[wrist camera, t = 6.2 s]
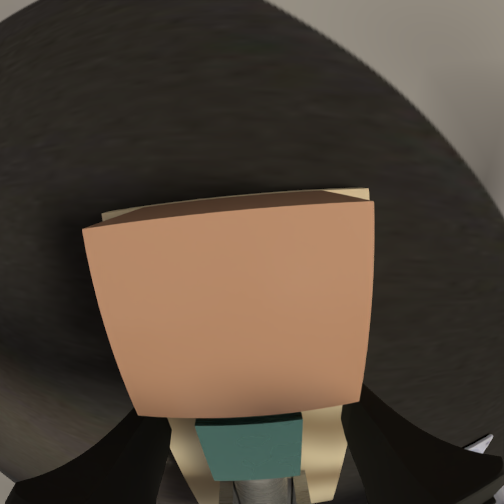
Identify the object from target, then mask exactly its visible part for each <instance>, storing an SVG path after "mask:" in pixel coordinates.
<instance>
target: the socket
mask: <svg viewBox="0 0 504 504" xmlns="http://www.w3.org/2000/svg"><path fill="white" fill-rule="evenodd" d="M82 232H83V238H84V243H85V248H86V254H87V259H88V263H89V268H90V272H91V277H92V281H93V285H94V289H95V293H96V297H97V301H98V305H99V308H100V312H101V315H102V319H103V322H104V326H105V329H106V332H107V335H108V339H109V342H110V345H111V348H112V351H113V354H114V356H115V359H116V362H117V365H118V368H119V370H120V373H121V376H122V378H123V381H124V383H125V386H126V388H127V391H128V393H129V396H130V398H131V401H132V403H133V405H134V408H135V410H136V412H137V414H138V416H151V417H169V418H234V417H252V416H265V415H276V414H285V413H294V412H302V411H309V410H316V409H322V408H328V407H334V406H339V405H344V404H349V403H354V402H359V399H360V394H361V388H362V382H363V375H364V368H365V361H366V354H367V345H368V337H369V327H370V316H371V304H372V289H373V269H374V201H371V200H366V199H362V198H357V197H353V196H348V195H343V194H338V193H333V192H328V191H323V190H320V191H302V192H287V193H273V194H260V195H248V196H237V197H227V198H217V199H207V200H198V201H189V202H181V203H173V204H165V205H157V206H150V207H143V208H140V209H137V210H134V211H131V212H128V213H125V214H122V215H120V216H117V217H114V218H111V219H108V220H105V221H103V222H100V223H97V224H94V225H92V226H89V227H86V228H84V229H82Z"/></svg>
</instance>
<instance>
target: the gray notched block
mask: <svg viewBox="0 0 504 504" xmlns="http://www.w3.org/2000/svg"><path fill="white" fill-rule="evenodd" d="M219 504H241V502H240V499H239V496H238V493H237V490H236V486H235V483H234V481H220V491H219ZM287 504H311V500H310V494H309V489H308V483H307V478H306V473H305V470H301V472H300V476H293V477H292V496H291V477H287Z"/></svg>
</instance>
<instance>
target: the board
mask: <svg viewBox="0 0 504 504" xmlns="http://www.w3.org/2000/svg"><path fill="white" fill-rule="evenodd" d="M320 190H323V191H328V192H333V193H338V194H343V195H348V196H353V197H357V198H362V199H366V200H369V189H368V188H335V189H314V190H297V191H282V192H269V193H256V194H245V195H234V196H223V197H214V198H204V199H195V200H187V201H178V202H170V203H163V204H155V205H148V206H141V207H134V208H127V209H120V210H114V211H109V212H105V213H102V220H103V221H105V220H108V219H111V218H114V217H117V216H120V215H122V214H125V213H128V212H131V211H134V210H137V209H140V208H143V207H150V206H157V205H165V204H173V203H181V202H189V201H198V200H207V199H217V198H227V197H237V196H248V195H260V194H273V193H287V192H302V191H320ZM341 412H342V405H339V406H334V407H328V408H322V409H316V410H309V411H302V412H301V413H302V417H303V431H302V454H301V470H305V473H306V478H307V483H308V489H309V494H310V500H311V504H312V503H318V502H324V501H329V500H333V497H334V493H335V490H336V486H337V483H338V479H339V475H340V472H341V468H342V464H343V460H344V456H345V451H346V447H347V441H346V438H345V434H344V430H343V426H342V422H341ZM167 419H168V421H169V424H170V426H171V429H172V433H171V442H170V449H171V451H172V453H173V456H174V458H175V460H176V462H177V464H178V466H179V468H180V470H181V472H182V474H183V476H184V478H185V479H186V481H187V483H188V485H189V487H190V489H191V491H192V492H193V494H194V496H195V498H196V500H197V501H198V503H199V504H219V491H220V481H214V479H213V476H212V474H211V471H210V468H209V466H208V463H207V460H206V458H205V455H204V452H203V449H202V446H201V444H200V441H199V438H198V435H197V432H196V429H195V421H196V418H169V417H167ZM291 496H292V477H291Z"/></svg>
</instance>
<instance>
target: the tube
mask: <svg viewBox="0 0 504 504" xmlns="http://www.w3.org/2000/svg"><path fill="white" fill-rule="evenodd" d="M195 429H196V432H197V435H198V438H199V441H200V444H201V446H202V449H203V452H204V455H205V458H206V460H207V463H208V466H209V468H210V471H211V474H212V476H213V479H214V481H234V483H235V486H236V490H237V493H238V496H239V499H240V502H241V504H287V477H293V476H300V472H301V454H302V431H303V417H302V413H301V412H294V413H285V414H276V415H265V416H252V417H234V418H196V421H195Z"/></svg>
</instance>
